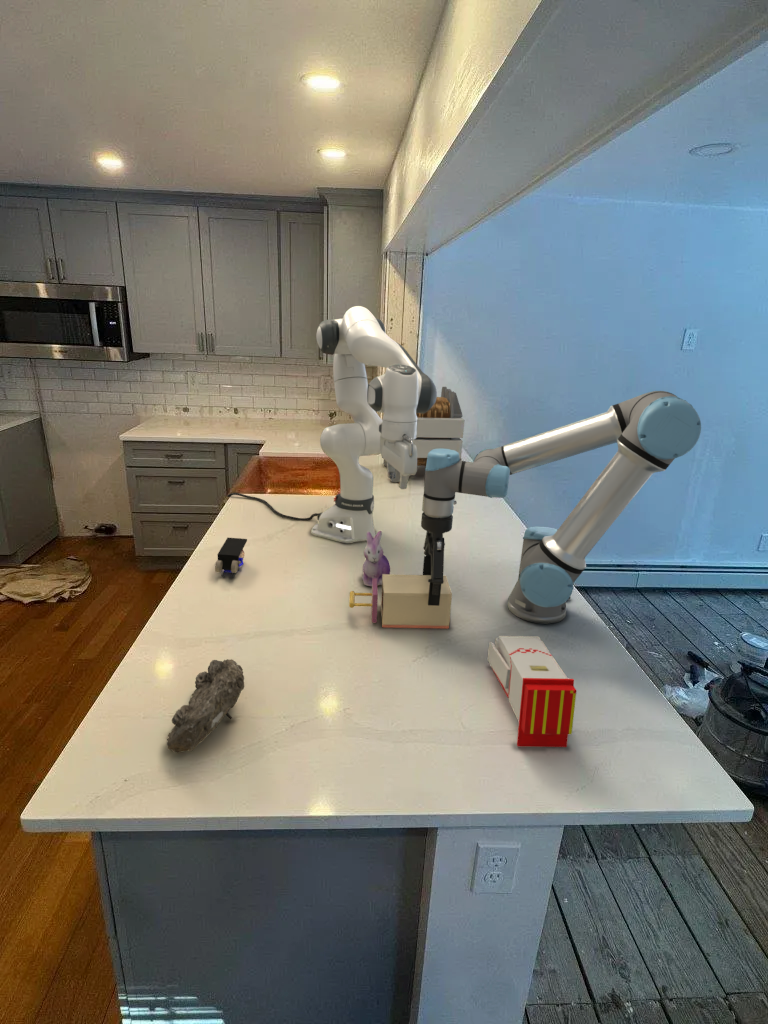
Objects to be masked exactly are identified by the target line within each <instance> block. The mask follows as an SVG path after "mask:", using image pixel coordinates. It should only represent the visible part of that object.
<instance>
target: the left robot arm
mask: <svg viewBox="0 0 768 1024" xmlns="http://www.w3.org/2000/svg"><path fill="white" fill-rule="evenodd" d="M386 331H387V330H386V328H385V324H384V322H383V321H382V319H379V318H376V317H375V315H374V314H373V313H372V312H371V311H370V310H369V309H368V308H367V307H364V306H361V305H355V306H352V307H350V308H349V309H347V310H346V312H345V313H344V315H343V316H342V318H336V319H332V318H329V319H326V320H322V321H320V323H319V324H318V326H317V330H316V335H315V336H316V337H315V338H316V343H317V346H318V348H319V350H320V352H321V353H323V354H325V355H330V356H333V361H332V377H333V386H334V394H335V402H336V406H337V407H338V408H339V410H340V411H341V412H344V413H346V414H348V415H349V416H350V417H351V418H352V420H353V422H349V423H337V424H334V425H330V426H326V427H325V428H324V429H323V430H322V432H321V434H320V436H319V437H320V438H319V445H320V448H321V450H322V452H323V453H324V454H325V455H326V456H327V457H328V458H330V459H331V460H332V461H333V462H334V464H335V465H336V467H337V470H338V473H339V483H340V484H339V485H340V488H339V489H340V490H339V491H338V492H337V494H336V495H335V496H334V497H333V502H334V504H333V505H331V506H329V507H328V508H326V509H325V510H323V511H322V512H319V513H317V512H315V513H313V514H311V515H310V516H309V517H294V516H291V515H286V514H283V513H281V512H279V511H277V510H276V509H275V508H274V507H273V506H272V505H271V504H270V503H269V502H268V501H266V500H265V499H263V498H260V497H255V496H252V495H246V494H243V493H240V492H231V493H229V494H228V495H227V496H226V497H227V498H230V497H232V496H239V497H242V498H246V499H250V500H256V501H258V502H261V503H264V504H265V505H266V506H267V507H268V508H269V509H270V510H271V511H272V512H273V513H274V514H275V515H277V516H280V517H282V518H284V519H290V520H294V521H311V520H313V519H314V517H317V518H316V519H317V523H315V524H314V525H313V526H312V528H311V530H310V533H311V536H315V537H319V538H323V539H326V540H330V541H336V542H339V543H343V544H352V543H357V542H365V541H367V538H366V534H367V532H370V533H371V535H372V537H373V538H374V537H375V536H376V534H377V532H376V528H375V523H374V513H373V512H374V509H375V496H374V474H373V472H372V471H371V469H369V468H367V467H366V466H364V465H362V464H360V461H359V460H360V457H366V456H367V457H368V456H377V455H380V456H381V459H383V461H384V460H385V461H387V466H386V469H387V477H388V479H389V480H390V479H395V478H396V472H395V469H396V470H397V471H399V472H400V476H401V477H400V481H399V482H398V488H399V489H400V490H406V489H407V488H408V481H409V479H410V476H415V475H416V474H417V472H418V466H417V448H416V445H415V444H413V443H412V440H414V439H416V434H417V415H416V413H422V414H424V413H426V412H427V411H428V410H430V409H431V407H432V406H433V405H434V404H435V402H436V398H437V397H438V392H437V391H438V390H437V386H436V385H435V382H434V381H433V380H432V378H431V377H430V376H429V375H427V374H426V373H424V372H423V370H422V369H421V368H420V367H419V365H418V364H417V363H416V361H415V360H414V359H413V357H412V356H411V354H409V352H408V351H407V350H406V349H405V347H404V346H403V345H402V344H400V343H399V342H396V341H395V340H394V339H393V338H391V336H389V335H388V334H387V332H386ZM366 365H367V366H372V367H380V368H386V369H385V372H384V373H383V374H381V375H379V376H375V377H374V378H372V379H371V380H370V381H369V382H368V374H367V370H366ZM377 412H378V413H381V414H382V413H383V414H382V417H380V415H379V414H378V413H377Z"/></svg>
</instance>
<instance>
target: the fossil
mask: <svg viewBox="0 0 768 1024" xmlns="http://www.w3.org/2000/svg"><path fill="white" fill-rule="evenodd" d="M243 670H244V669H243V667H242V665H240V664H237V662H236V661H235V660H234V659H232V658H231V659H227V658H226V659H224V660H223V661H222V660H217V659H212V660H211V661H210V663H209V665H208V666H207V671H201V672H199V673H198V674H197V675H196V676H195V680H194V684H195V685H194V687H195V689H194V690H193V693H192V694H191V697H190V698H189V700H188V704H184V705H182V706H181V707H180V709H177V710H176V711H175V713H174V715H173V716H172V718H171V723H172V724H173V727H172V730H171V731H170V732H168V734H167V738H166V741H167V742H166V745H167V749H168V750H169V751H173V752H174V753H176V754H178V753H182V752H188V751H189V752H192V751H193V750H195V748H196V747H197V746H199V744H200V743H201V742H203V741H204V740H205V739H206V738H207V737H208V736H209V735H210V734H211V733H212V732H214V730H215V729H217V727H218V726H219V724H220V722H221V721H222V720H223V719H224V718H225V716H226V717H227V719H229V720H233V717H232V715H230V714H229V710H230V709H231V708H234V706H235V704H236V703H237V702H238V699H239V697H240V695H241V693H242V691H243V690H245V689H244V688H245V675H244V671H243Z"/></svg>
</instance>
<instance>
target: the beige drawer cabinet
mask: <svg viewBox="0 0 768 1024" xmlns="http://www.w3.org/2000/svg"><path fill="white" fill-rule="evenodd" d="M429 579H431V575H423V574H391V573H390V574H382V581H383V593H384V596H383V617H382V608H381V607H380V614H381V627H382V628H390V629H391V628H393V629H394V628H397V629H398V628H399V629H400V628H401V629H450V620H451V611H452V609H451V608H452V598H453V593H452V590H451V585H450V583H449V579H448V577H447V575H443V580H444V582H443V584H441V593H440V603H439V606H432V605H428V596H429V585H430V582H428V580H429ZM380 596H381V597H380V603H381V602H382V593H381V595H380Z"/></svg>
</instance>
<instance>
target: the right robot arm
mask: <svg viewBox="0 0 768 1024" xmlns="http://www.w3.org/2000/svg"><path fill="white" fill-rule="evenodd" d="M701 432H702V422H701V418H700V415H699V414H698V412H697V410H696V408H694V406H693V405H692V404H691V403H690V402H688V401H687V400H685V399H683V398H680V397H679V396H678V395H676V394H674V393H672V392H669V391H665V390H652V391H648V392H646V393H643V394H640V395H637V396H635V397H632V398H629V399H626V400H624V401H621V402H618V403H615V404H612V405H610V406H609V408H608V409H607V411H605V412H601V413H599V414H595V415H593V416H590V417H587V418H584V419H579V420H577V421H575V422H571V423H569V424H565V425H562V426H559V427H557V428H554V429H550V430H547V431H544V432H540V433H538V434H535V435H532V436H529V437H526V438H522V439H520V440H517V441H513V442H510V443H508V444H505V445H502V446H498V447H487V448H483V449H482V450H480V451H479V452H478V453H476V455H475V456H474V459H473V461H466V460H462V461H461V460H460V458H459V453H458V452H457V451H455V450H450V449H442V448H440V449H433V450H431V451H430V452H429V453H428V456H427V464H426V466H425V468H424V486H423V495H422V496H423V497H422V506H421V511H422V513H421V521H420V527H421V528H422V530H424V531H426V533H425V539H424V544H423V548H422V549H423V554H424V555H423V565H422V575H431V579H429V580H428V582H430V585H429V596H428V605H432V606H439V603H440V593H441V584H443V582H444V580H443V576H444V570H445V569H444V568H445V565H444V564H445V545H446V542H445V537H444V534H446V533H449V532H450V531H452V529H453V520H454V516H453V514H454V510H455V506H456V505H457V503H458V501H457V500H455V499H456V493H458V494H466V495H472V496H479V497H480V496H481V497H487V498H490V499H493V498H496V499H497V498H498V499H499V498H500V499H503V498H506V496H507V495H508V489H509V481H510V477H511V476H512V475H514V474H518V473H521V472H524V471H527V470H531V469H534V468H537V467H541V466H544V465H547V464H551V463H554V462H557V461H561V460H563V459H567V458H570V457H574V456H578V455H580V454H583V453H587V452H590V451H593V450H596V449H599V448H600V449H601V448H603V447H606V446H610V445H613V444H617V451H616V453H615V454H614V455H613V457H612V458H611V459H610V460H609V462H608V463H607V465H606V466H605V467H604V469H603V470H602V471H601V472H600V474H599V475H598V476H597V478H596V479H595V480H594V482H593V483H592V484H591V485H590V487H589V488H588V489H587V491H586V492H585V493H584V495H583V496H582V497H581V498H580V500H579V501H578V503H577V504H576V505H575V506H574V507H573V509H572V511H571V512H570V513H569V514H568V515H567V517H566V518H565V519H564V521H563V522H562V524H561V525H560V526H559V528H555V527H549V526H530V527H528V528H526V529H525V531H524V534H523V536H522V539H523V540H522V547H521V554H520V561H519V569H518V576H517V580H516V583H515V584H514V586H513V588H512V590H511V592H510V594H509V596H508V598H507V607H508V610H509V611H510V612H511V614H513V615H514V616H515V617H517V618H519V619H521V620H524V621H527V622H530V623H535V624H541V625H549V624H550V625H551V624H556V623H559V622H561V621H563V620H564V619H565V618H566V615H567V609H568V607H567V603H566V602H567V601H568V600H570V599H571V595H572V594H573V591H574V583H575V582H576V581H577V579H578V578H579V577H580V576H581V574H582V573H583V572H584V571H585V569H586V568H587V562H586V557H588V555H589V553H590V552H591V551H592V550H593V548H594V547H595V546H596V545H597V544H598V543H599V541H600V540H601V538H603V536H604V535H605V533H607V532H608V530H609V529H610V528H611V526H613V524H614V523H615V521H616V520H617V519H618V518H619V517H620V515H621V514H622V513H623V511H624V510H625V509H626V508H627V507H628V505H629V504H630V503H631V502H632V500H633V499H634V498H635V496H636V495H637V494H638V493H639V492H640V490H641V489H642V488H643V486H644V485H646V483H647V482H648V480H649V479H650V478H651V477H652V476H653V474H655V473H661V472H665V471H666V470H667V469H668V468H669V466H670V465H671V464H672V463H673V461H675V459H677V458H680V457H683V456H685V455H686V454H688V453H689V452H690V451H692V450H693V448H694V447H695V446H696V444H697V443H698V441H699V439H700V436H701ZM454 505H455V506H454Z"/></svg>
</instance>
